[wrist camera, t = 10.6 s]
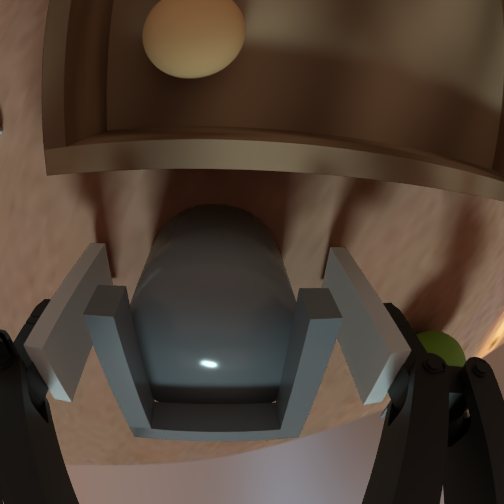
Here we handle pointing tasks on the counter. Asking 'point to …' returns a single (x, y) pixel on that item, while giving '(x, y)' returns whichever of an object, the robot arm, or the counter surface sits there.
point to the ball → (193, 36)
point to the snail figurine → (443, 347)
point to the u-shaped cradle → (214, 334)
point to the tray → (287, 93)
